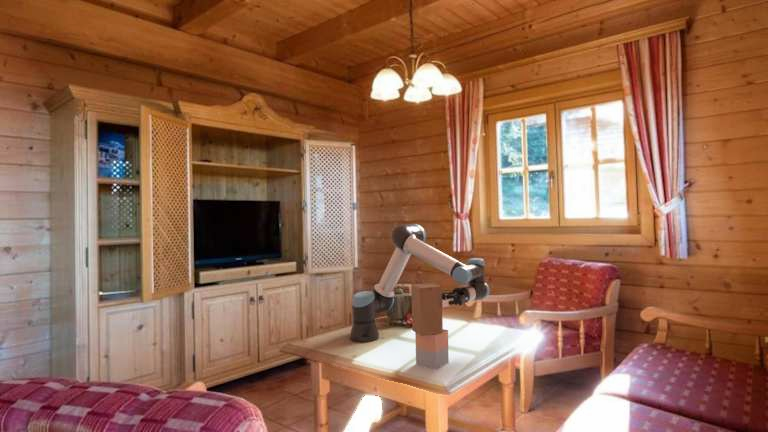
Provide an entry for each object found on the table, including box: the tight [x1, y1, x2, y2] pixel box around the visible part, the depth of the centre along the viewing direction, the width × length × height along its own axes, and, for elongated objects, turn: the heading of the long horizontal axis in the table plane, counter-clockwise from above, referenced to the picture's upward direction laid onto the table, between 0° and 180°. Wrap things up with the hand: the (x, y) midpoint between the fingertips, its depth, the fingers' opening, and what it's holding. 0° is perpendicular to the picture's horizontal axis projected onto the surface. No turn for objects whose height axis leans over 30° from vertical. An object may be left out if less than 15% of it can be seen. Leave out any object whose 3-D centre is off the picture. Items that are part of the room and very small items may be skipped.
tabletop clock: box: [385, 280, 412, 325], centre depth 260 cm, size 14×9×25 cm, turn 126°
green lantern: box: [393, 283, 412, 319], centre depth 275 cm, size 10×10×20 cm
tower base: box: [415, 346, 450, 370], centre depth 192 cm, size 10×10×7 cm
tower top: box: [415, 328, 449, 352], centre depth 192 cm, size 10×10×7 cm
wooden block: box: [411, 282, 444, 336], centre depth 190 cm, size 10×10×20 cm
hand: (430, 301), depth 191 cm, fingers open, 13 cm apart
